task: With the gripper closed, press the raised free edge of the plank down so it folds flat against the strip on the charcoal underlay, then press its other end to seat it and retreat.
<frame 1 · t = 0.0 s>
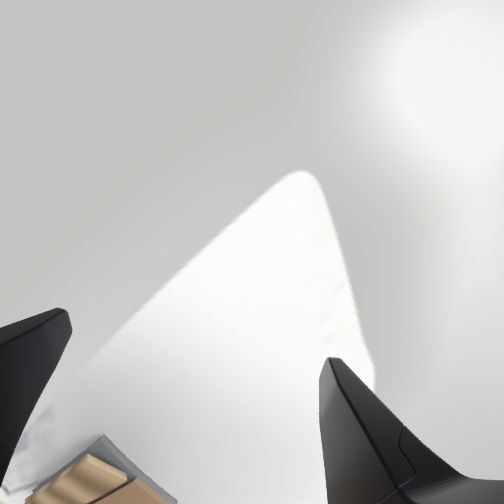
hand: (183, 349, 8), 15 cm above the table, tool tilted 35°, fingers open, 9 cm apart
floor panel: (93, 498, 18), on the table
plank: (66, 494, 16), point 3 cm above the table, hinge at 30.0°
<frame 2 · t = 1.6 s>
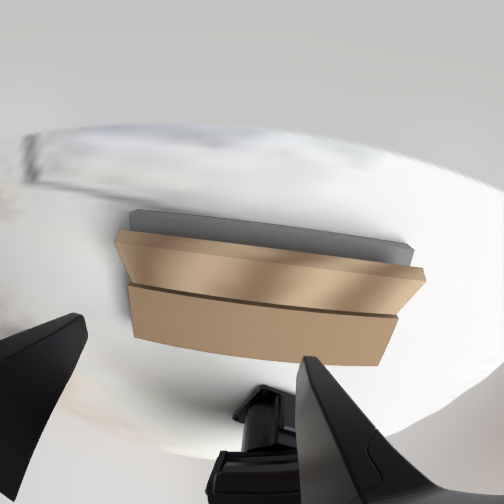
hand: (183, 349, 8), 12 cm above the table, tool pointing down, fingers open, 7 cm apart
floor panel: (266, 290, 21), on the table
plank: (271, 278, 17), point 3 cm above the table, hinge at 30.0°
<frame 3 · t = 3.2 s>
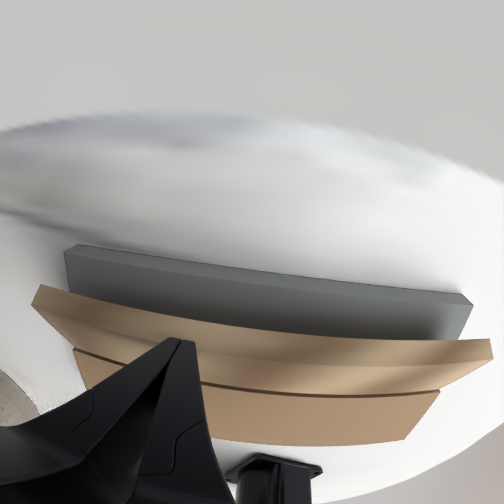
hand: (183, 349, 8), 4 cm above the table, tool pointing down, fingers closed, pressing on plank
floor panel: (265, 361, 14), on the table
thermos bottle: (15, 393, 20), on the table
plank: (272, 366, 10), point 3 cm above the table, hinge at 29.5°, touching gripper
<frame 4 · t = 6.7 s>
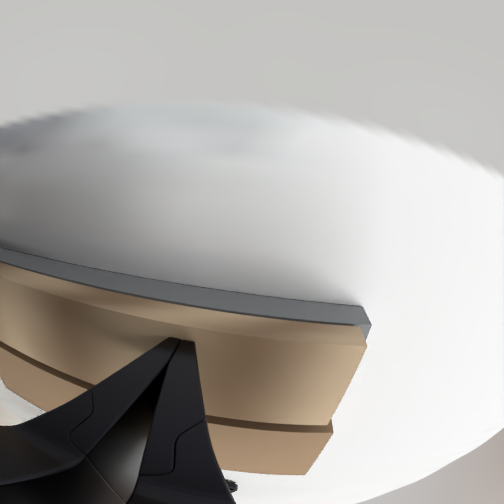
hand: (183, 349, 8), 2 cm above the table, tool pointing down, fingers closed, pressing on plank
floor panel: (120, 362, 12), on the table
plank: (91, 341, 9), point 2 cm above the table, hinge at 1.5°, touching gripper
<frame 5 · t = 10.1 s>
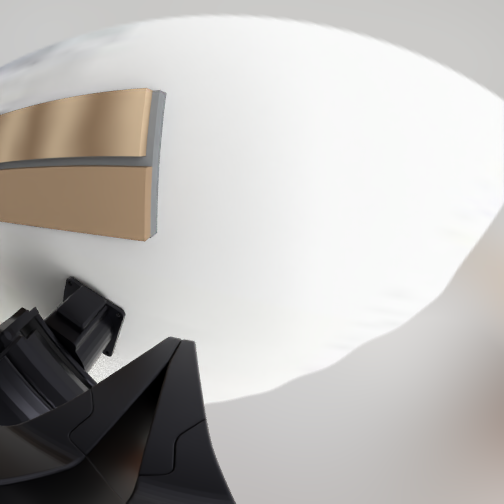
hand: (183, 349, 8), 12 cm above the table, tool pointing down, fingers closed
floor panel: (54, 163, 18), on the table
plank: (42, 130, 16), point 2 cm above the table, hinge at -0.8°, touching floor panel
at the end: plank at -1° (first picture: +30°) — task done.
